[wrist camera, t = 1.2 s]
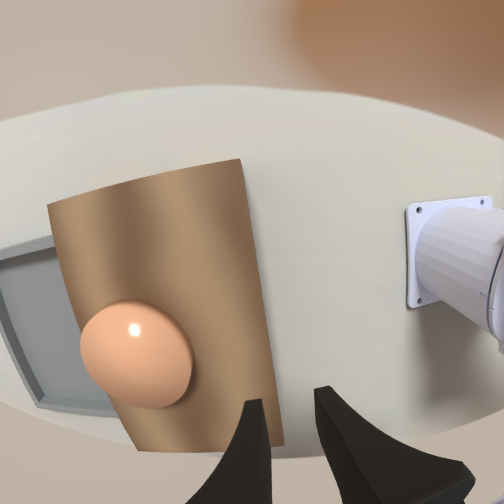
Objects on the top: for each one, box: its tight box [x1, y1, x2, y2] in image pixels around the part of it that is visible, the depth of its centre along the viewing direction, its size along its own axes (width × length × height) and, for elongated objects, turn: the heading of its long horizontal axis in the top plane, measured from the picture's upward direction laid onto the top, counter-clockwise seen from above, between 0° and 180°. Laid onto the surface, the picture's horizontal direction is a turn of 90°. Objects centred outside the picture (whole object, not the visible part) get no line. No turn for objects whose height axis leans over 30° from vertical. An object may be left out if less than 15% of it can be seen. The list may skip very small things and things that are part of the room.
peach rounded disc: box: [80, 299, 194, 409], centre depth 16 cm, size 7×7×2 cm
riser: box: [47, 159, 284, 453], centre depth 19 cm, size 12×20×4 cm, turn 9°
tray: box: [0, 235, 119, 418], centre depth 20 cm, size 12×16×2 cm
